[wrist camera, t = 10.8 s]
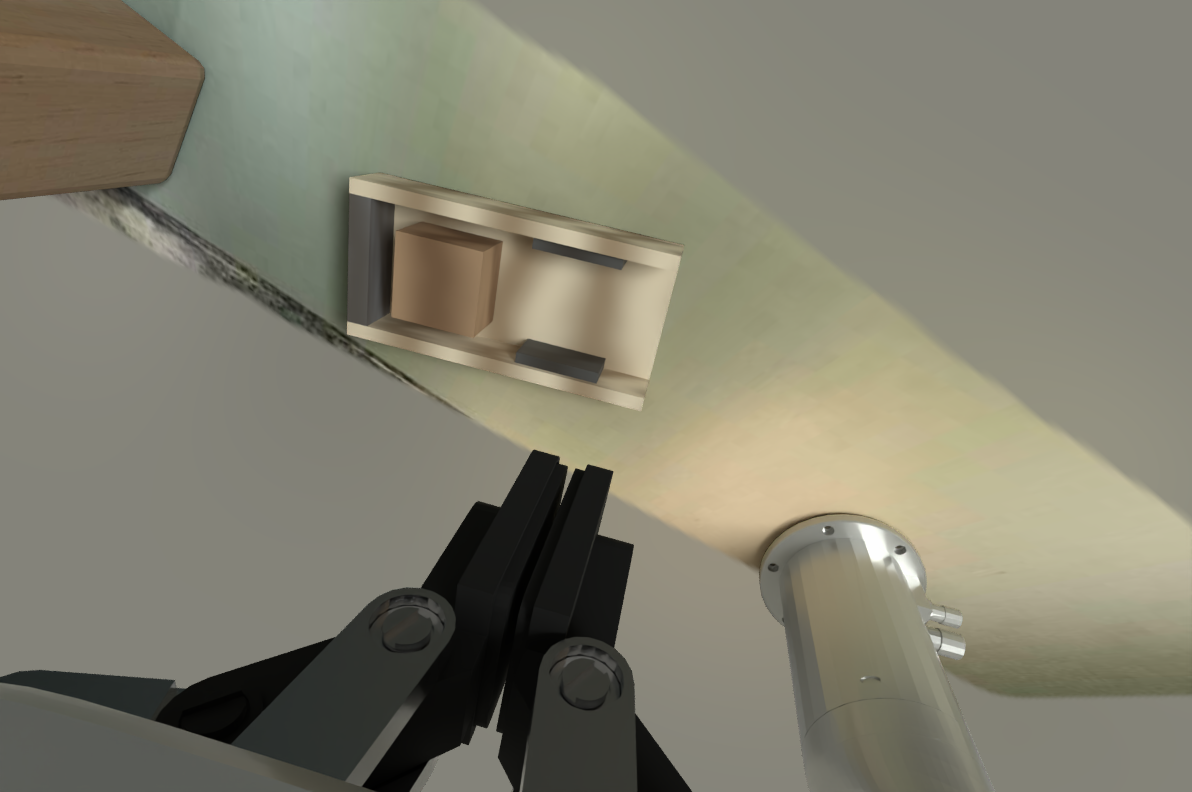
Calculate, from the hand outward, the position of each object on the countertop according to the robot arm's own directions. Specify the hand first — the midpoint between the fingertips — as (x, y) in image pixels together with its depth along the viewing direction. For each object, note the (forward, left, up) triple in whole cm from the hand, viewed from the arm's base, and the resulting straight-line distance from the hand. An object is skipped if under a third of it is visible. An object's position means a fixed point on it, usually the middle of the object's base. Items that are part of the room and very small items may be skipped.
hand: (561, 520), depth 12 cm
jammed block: (+14, +6, -32) cm, 36 cm away
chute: (+10, +6, -32) cm, 34 cm away
